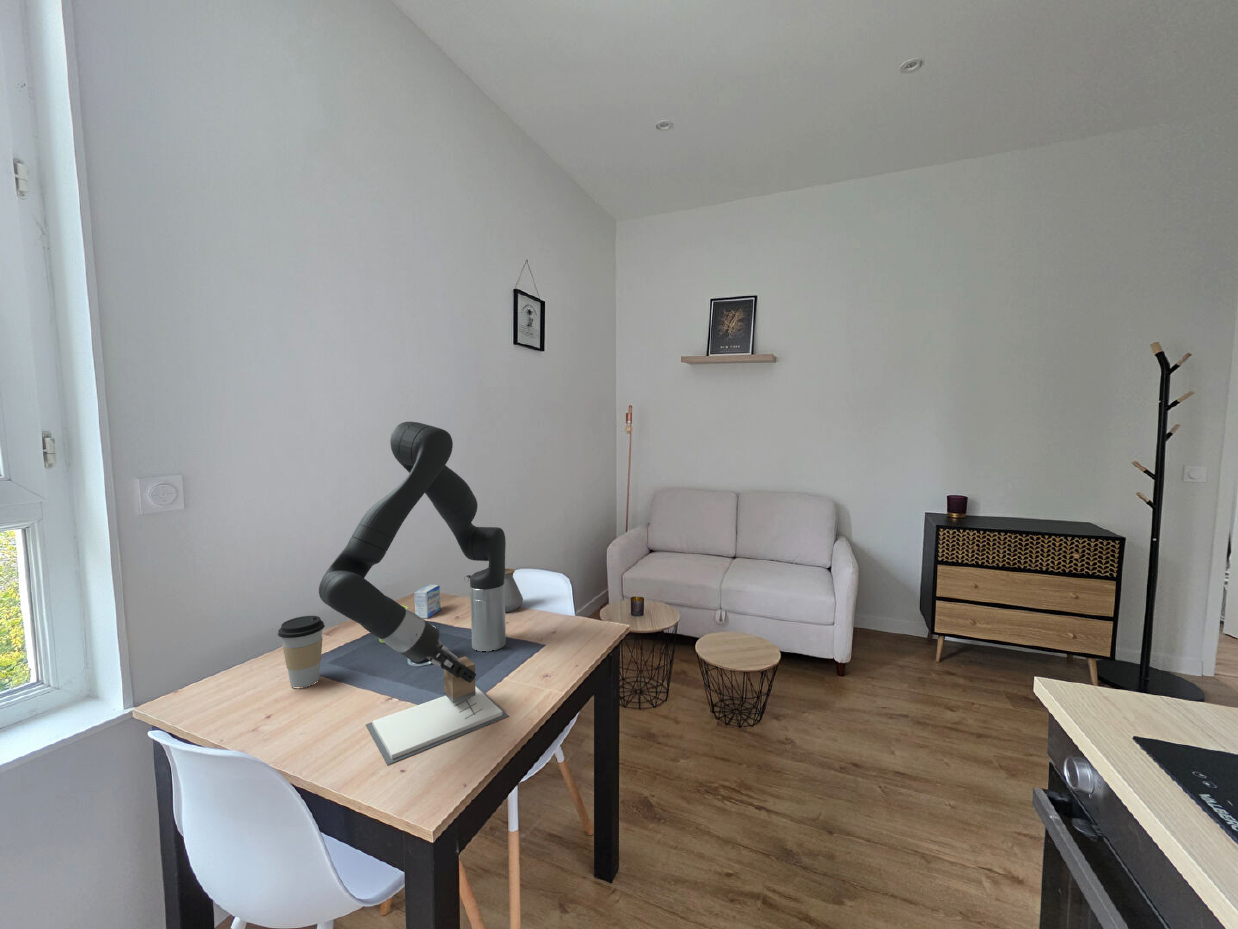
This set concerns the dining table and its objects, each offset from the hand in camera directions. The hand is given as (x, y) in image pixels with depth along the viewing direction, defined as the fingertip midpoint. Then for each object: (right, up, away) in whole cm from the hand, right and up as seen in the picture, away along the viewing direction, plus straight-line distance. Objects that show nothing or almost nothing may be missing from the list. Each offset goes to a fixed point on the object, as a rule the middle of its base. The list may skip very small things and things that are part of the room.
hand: (467, 673), depth 111 cm
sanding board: (-4, -7, -7) cm, 11 cm away
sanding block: (-1, -4, -1) cm, 5 cm away
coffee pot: (-8, -3, +54) cm, 55 cm away
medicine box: (-29, -3, +54) cm, 61 cm away
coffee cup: (-42, -6, +10) cm, 43 cm away
